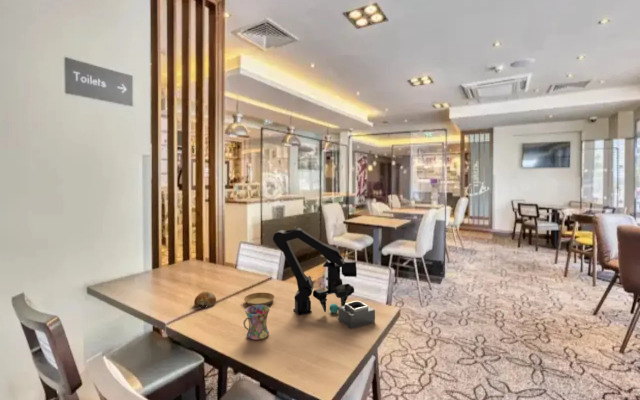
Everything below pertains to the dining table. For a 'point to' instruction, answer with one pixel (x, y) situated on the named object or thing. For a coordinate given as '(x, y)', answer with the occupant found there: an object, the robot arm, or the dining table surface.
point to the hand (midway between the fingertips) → (333, 309)
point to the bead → (333, 308)
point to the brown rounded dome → (205, 299)
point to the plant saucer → (259, 299)
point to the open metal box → (356, 314)
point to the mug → (257, 321)
